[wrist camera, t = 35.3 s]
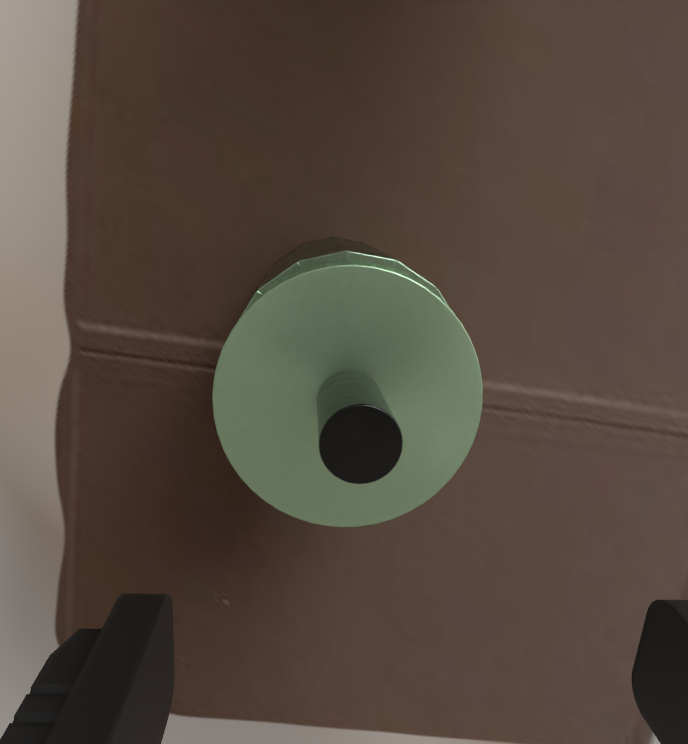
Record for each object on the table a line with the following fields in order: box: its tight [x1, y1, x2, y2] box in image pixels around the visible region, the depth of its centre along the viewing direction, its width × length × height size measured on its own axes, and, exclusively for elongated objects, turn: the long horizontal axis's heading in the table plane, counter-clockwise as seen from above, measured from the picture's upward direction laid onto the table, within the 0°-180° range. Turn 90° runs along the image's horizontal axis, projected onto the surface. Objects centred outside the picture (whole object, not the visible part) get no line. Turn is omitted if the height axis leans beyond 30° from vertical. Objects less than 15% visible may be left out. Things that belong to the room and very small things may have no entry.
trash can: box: [235, 237, 451, 325], centre depth 31 cm, size 11×11×14 cm
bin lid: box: [212, 264, 483, 527], centre depth 21 cm, size 12×12×7 cm
